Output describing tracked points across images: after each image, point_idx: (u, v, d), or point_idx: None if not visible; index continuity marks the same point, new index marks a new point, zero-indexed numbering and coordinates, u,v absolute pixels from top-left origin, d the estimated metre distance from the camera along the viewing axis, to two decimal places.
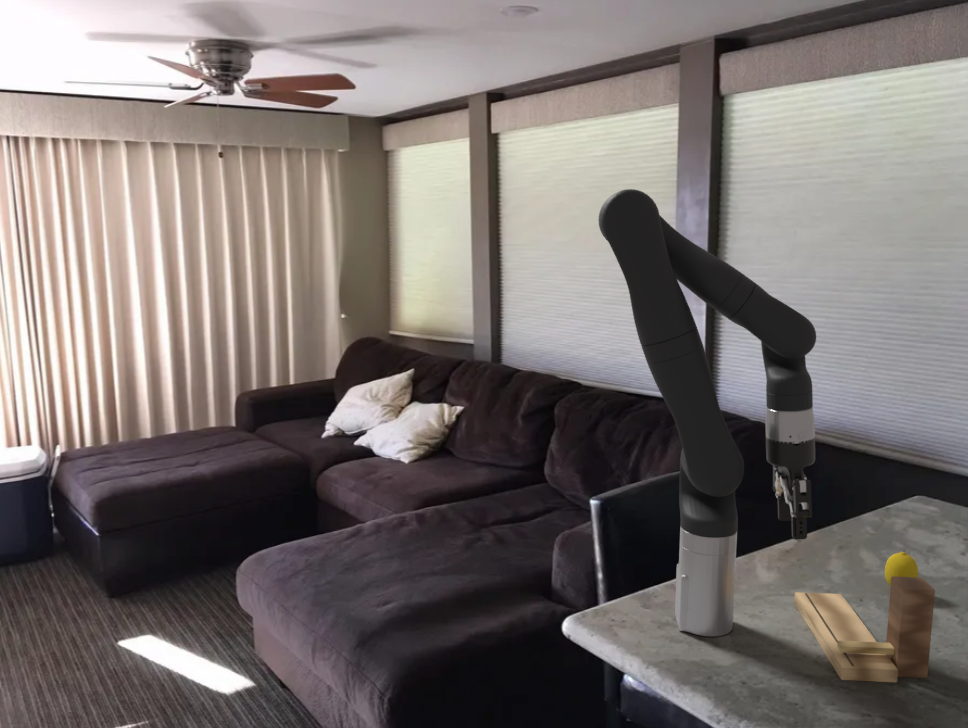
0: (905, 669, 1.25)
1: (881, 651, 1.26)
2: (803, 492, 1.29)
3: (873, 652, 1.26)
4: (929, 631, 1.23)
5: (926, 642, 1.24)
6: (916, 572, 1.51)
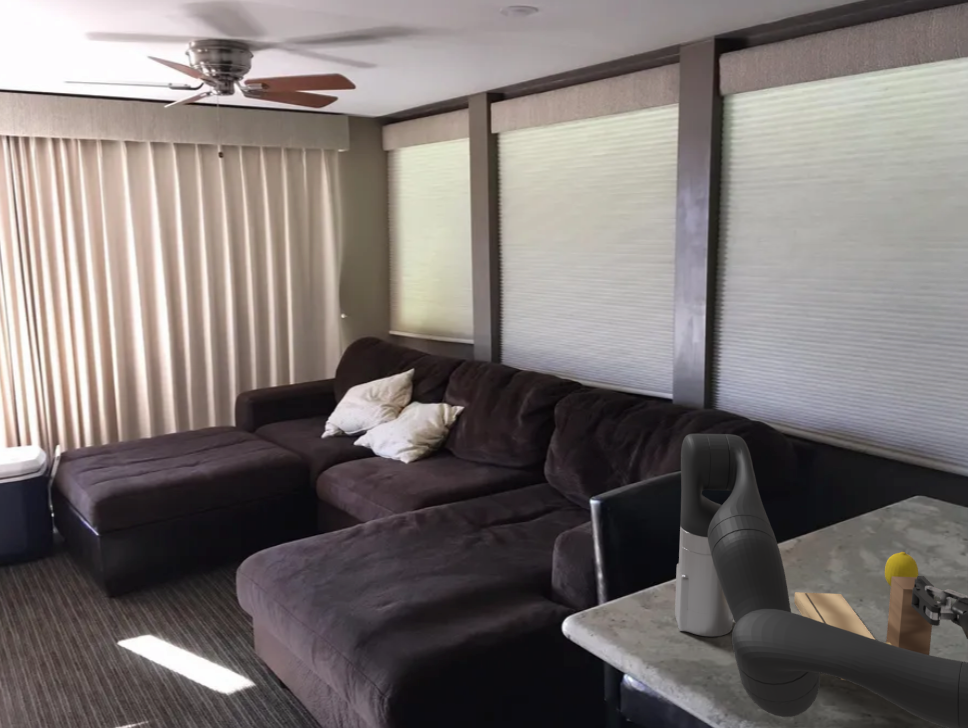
0: None
1: None
2: None
3: None
4: (929, 631, 1.23)
5: (926, 642, 1.24)
6: (916, 572, 1.51)
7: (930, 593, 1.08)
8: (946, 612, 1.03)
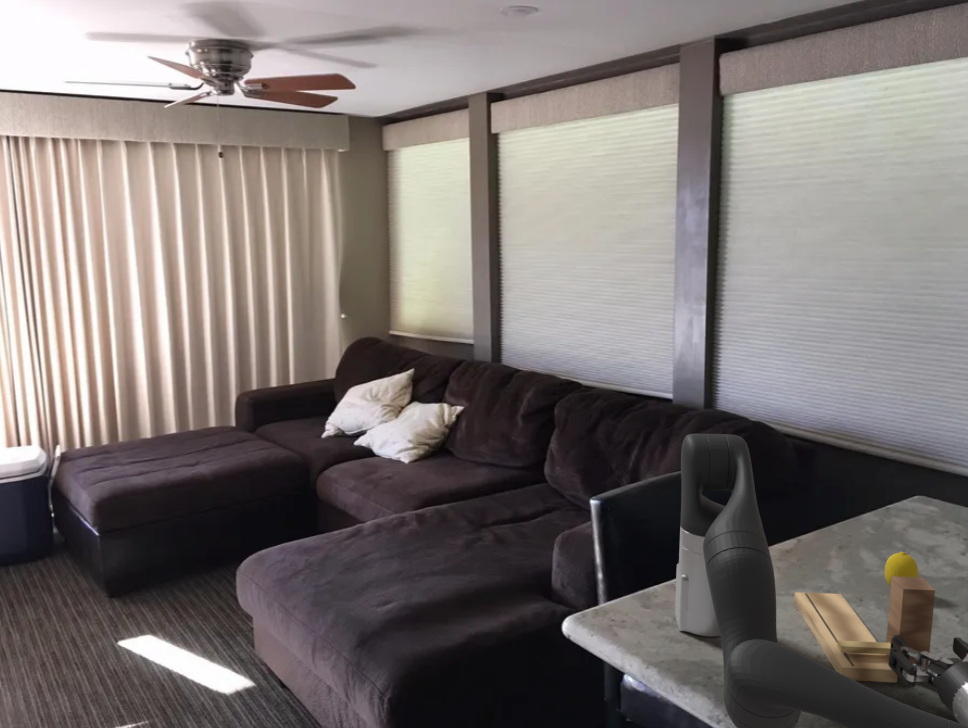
0: None
1: (881, 651, 1.26)
2: None
3: (873, 652, 1.26)
4: (929, 631, 1.23)
5: (926, 642, 1.24)
6: (916, 572, 1.51)
7: (906, 654, 1.15)
8: (921, 675, 1.10)
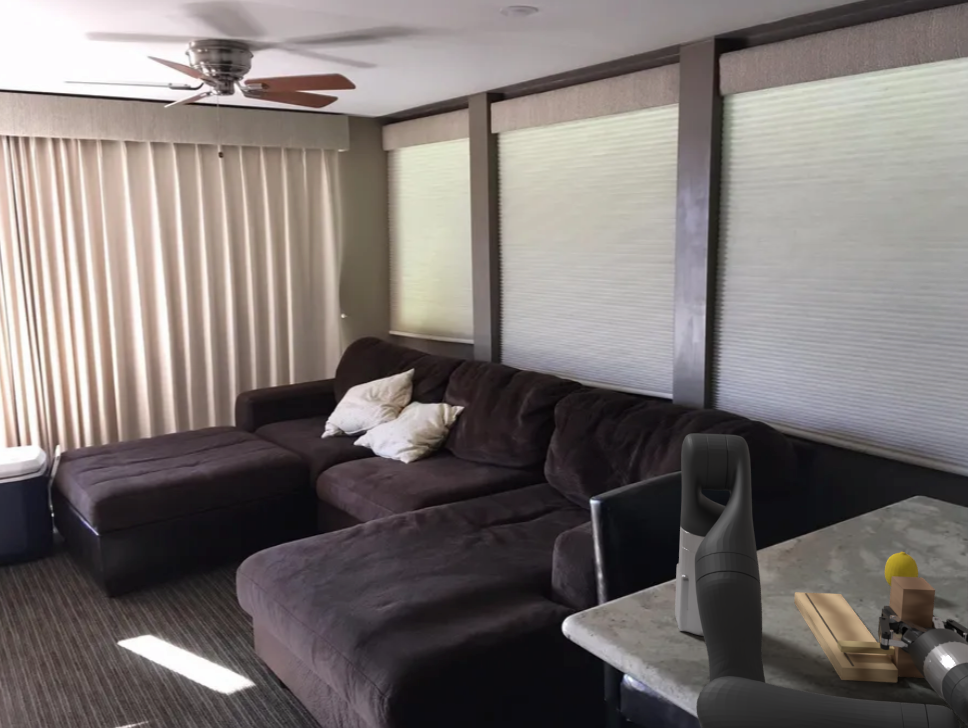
0: (905, 669, 1.25)
1: (881, 651, 1.26)
2: None
3: (873, 652, 1.26)
4: None
5: None
6: (916, 572, 1.51)
7: (892, 621, 1.23)
8: (894, 639, 1.18)
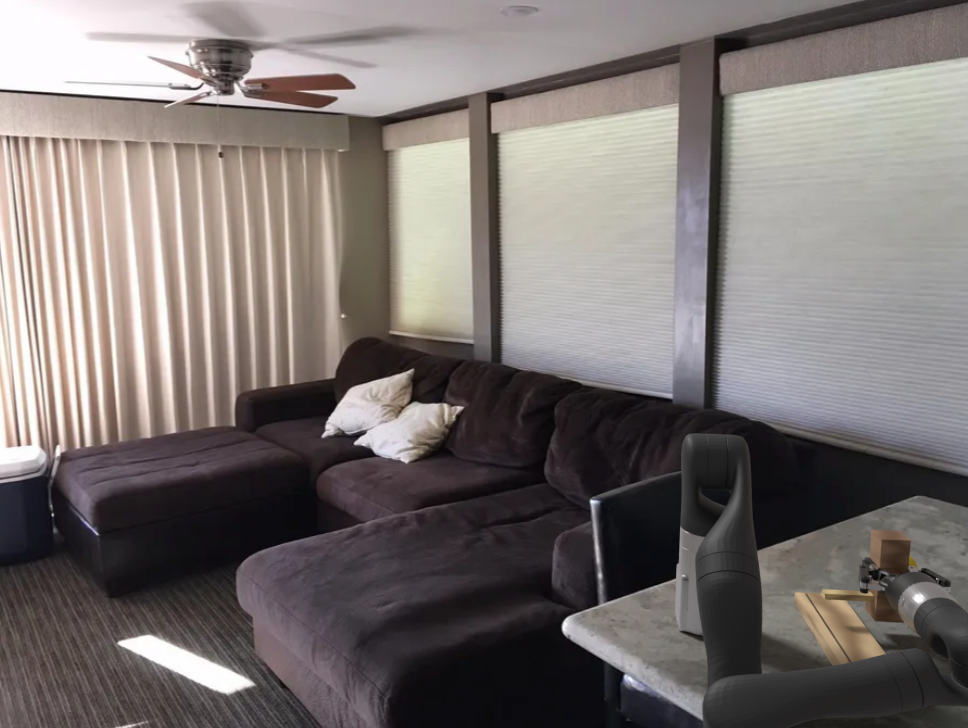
0: (883, 614, 1.35)
1: (861, 598, 1.36)
2: None
3: (854, 599, 1.37)
4: None
5: None
6: None
7: (871, 569, 1.34)
8: (873, 584, 1.29)
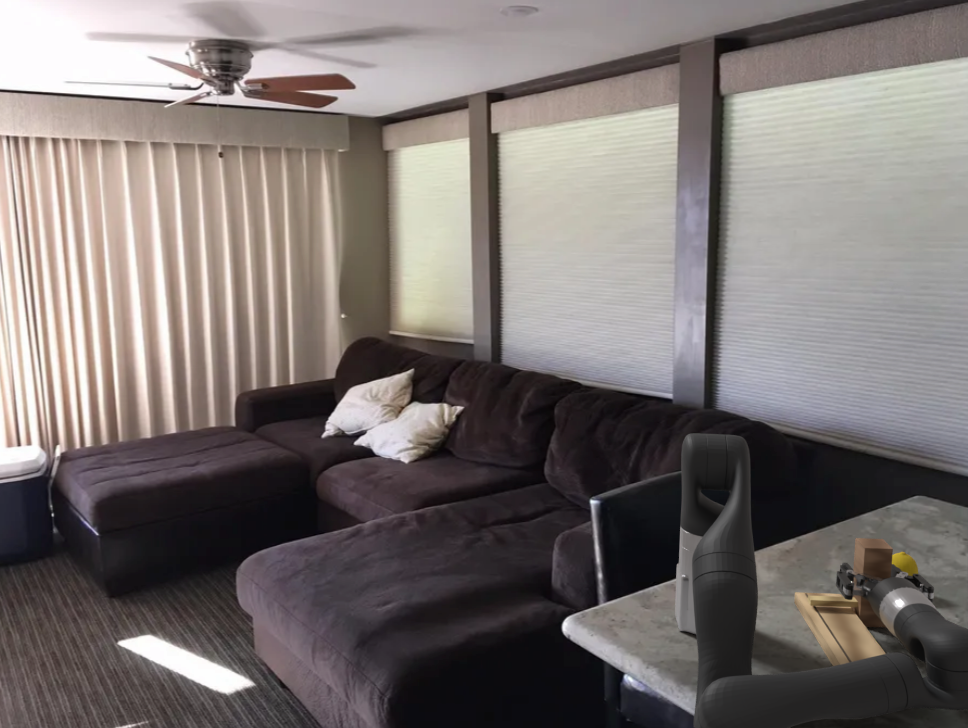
0: (867, 619, 1.40)
1: (846, 604, 1.42)
2: None
3: (839, 605, 1.42)
4: None
5: None
6: (916, 572, 1.51)
7: (850, 575, 1.39)
8: (857, 590, 1.34)
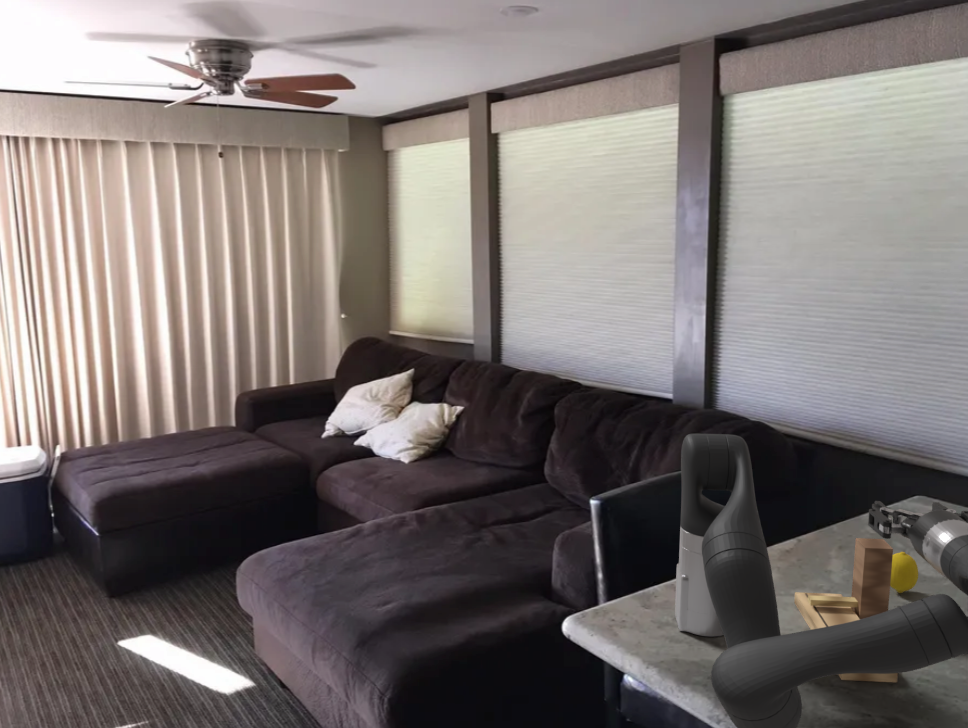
0: None
1: (846, 604, 1.42)
2: None
3: (839, 605, 1.42)
4: (888, 585, 1.39)
5: (885, 595, 1.39)
6: (916, 572, 1.51)
7: (884, 513, 1.23)
8: (896, 527, 1.18)
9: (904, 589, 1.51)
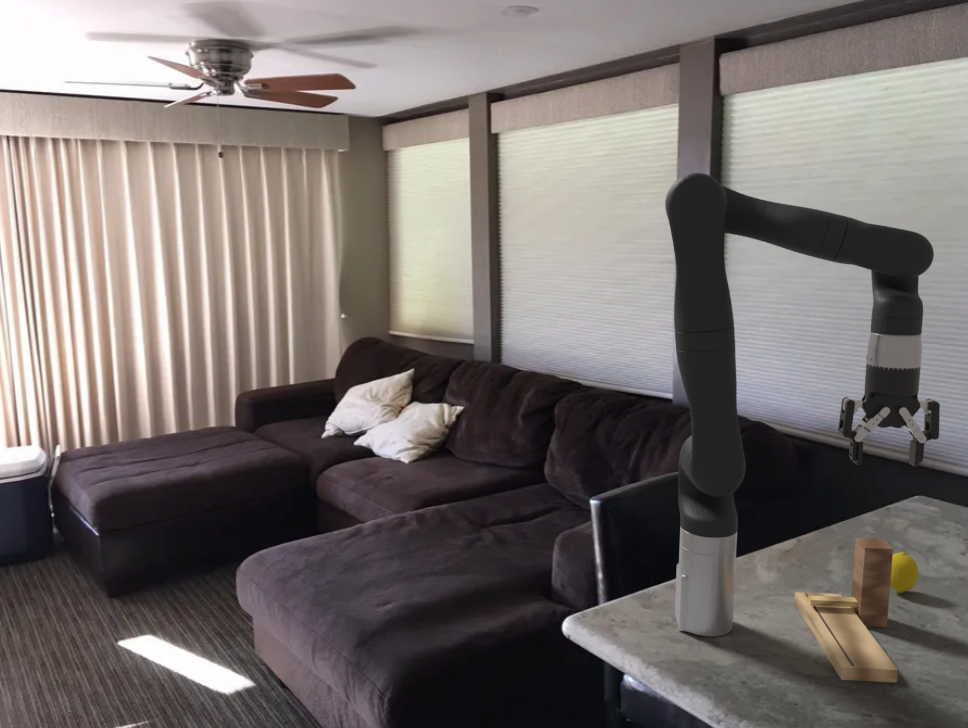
0: (867, 619, 1.40)
1: (846, 604, 1.42)
2: None
3: (839, 605, 1.42)
4: (888, 585, 1.39)
5: (885, 595, 1.39)
6: (916, 572, 1.51)
7: (853, 430, 1.30)
8: (855, 400, 1.29)
9: (904, 589, 1.51)
